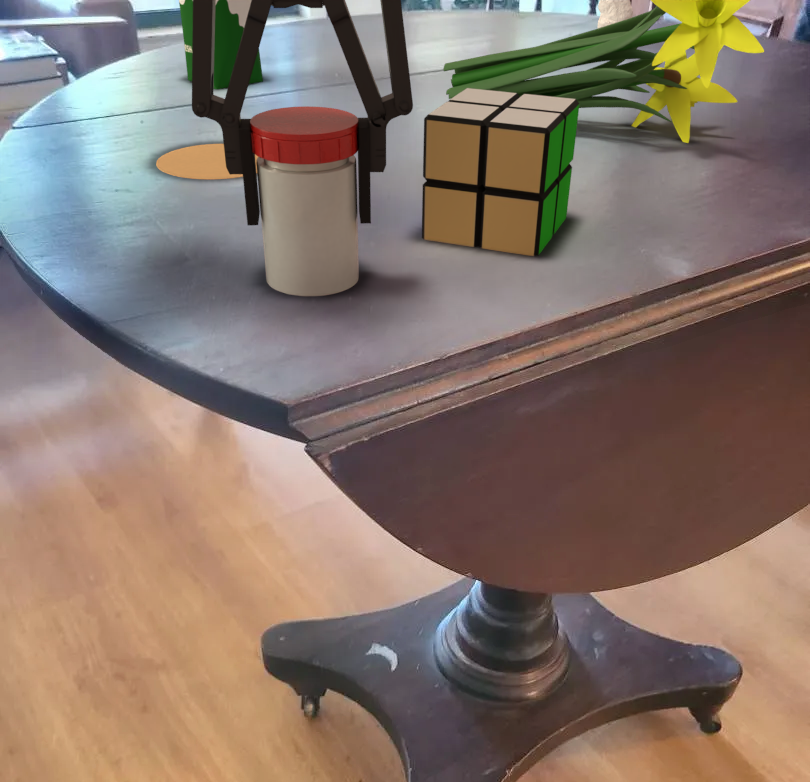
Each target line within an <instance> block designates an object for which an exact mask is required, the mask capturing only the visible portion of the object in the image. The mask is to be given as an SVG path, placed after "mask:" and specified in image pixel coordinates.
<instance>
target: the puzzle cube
mask: <svg viewBox="0 0 810 782" xmlns="http://www.w3.org/2000/svg"><path fill="white" fill-rule="evenodd" d="M579 113H580V108H579V102H578V101H577V100H576V99H570V98H561V97H551V96H541V95H531V94H523V95H522V96H521V97H519V95H518V94H517V93H511V92H501V91H491V90H482V89H472V88H466V89H465V90H463V91H462V92H460V93H459V94H458V95H456V96H455V97H453V98H452V99H448V101H446V102H444V103H443V104H441V105H440V106H439V107H436V108H435V109H434V110H432V111H431V112H430V113H428V114H427V115H426V116H425V117H424V119H423V152H422V153H423V154H422V155H423V158H422V159H423V161H422V177H423V178H424V180H425V182H424V183H422V197H421V198H422V200H421V203H422V204H421V238H422V239H423V240H424V241H431V242H436V243H443V244H450V245H456V246H464V247H470V248H478V247H479V248H481V249H482V250H483V249H484V250H490V251H497V252H503V253H509V254H517V255H523V256H530V257H537V256H540V254H541V253H542V252H543V250H544V249H545V248H546V246H547V245H548V244H549V242H550V241H551V240H552V238H553V236H554V235H555V234H556V233H557V231H558V230H559V228H560V227H561V226H562V225H563V223H564V222H565V220H566V219H567V216H568V207H569V198H570V197H569V196H570V190H571V181H572V179H571V178H572V172H573V171H572V170H573V166H572V165H571V162H572V161H573V160H574V154H575V145H576V139H577V128H578V119H579Z"/></svg>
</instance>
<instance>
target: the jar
mask: <svg viewBox="0 0 810 782" xmlns="http://www.w3.org/2000/svg"><path fill="white" fill-rule="evenodd" d="M256 164H257V185H258V197H259V209H260V220H261V221H260V222H261V233H262V247H263V256H264V269H265V280H266V283H267V284H268V286H269V287H271V288H272V289H273V290H275V291H277V292H280V293H284V294H286V295H290V296H291V295H292V296H299V297H323V296H330V295H334V294H338V293H342V292H344V291H346V290H350V289H351V288H352V287H353V286H355V285H356V284H357V283H358V281H359V279H360V268H359V267H360V266H359V263H360V262H359V261H360V260H359V221H358V214H359V213H358V177H357V176H358V166H357V157H356V155H355V154H354V155H353V156H351V157H348V158H346V159H343V160H339V161H335V162H330V163H321V164H285V163H278V162H273V161H268V160H265V159H263V158H260V157H258V158H257V160H256Z"/></svg>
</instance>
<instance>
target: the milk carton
mask: <svg viewBox="0 0 810 782" xmlns="http://www.w3.org/2000/svg"><path fill="white" fill-rule="evenodd" d="M178 4H179V11H180V20H181V28H182V35H183V44H184V53H185V56H184V57H185V64H186V75H187V76H186V77H187V81H189V82H192V37H193V0H178ZM250 4H251V0H216V2H215V45H214V88H213V90H222V89H228V85H229V82H230V78H231V74H232V71H233V67H234V63H235V60H236V56H237V52H238V49H239V45H240V41H241V38H242V34H243V30H244V26H245V23H246V19H247V15H248V12H249V8H250ZM263 77H264V76H263V69H262V62H261V53H260V48H259V49H258V53H257V57H256V60H255V64H254V67H253V71H252V74H251V78H250V81H249V85H251V84H256V83H262V82H264V78H263Z"/></svg>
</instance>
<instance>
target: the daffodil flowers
mask: <svg viewBox="0 0 810 782" xmlns="http://www.w3.org/2000/svg"><path fill="white" fill-rule="evenodd" d="M650 1H651V2H652V3H653V4H654V5H655V7H654V8H653V9H651V10H649V11H646V12H643V13H641V14H638V15H635V16H633V17H632V18H629V19H626V20H623V21H620V22H617V23H613V24H610V25H607V26H604V27H601V28H598V27H597V28H596V29H595V28H594V29H591V30H588V31H585V32H581V33H578V34H575V35H571V36H567V37H564V38H561V39H557V40H554V41H551V42H547V43H544V44H541V45H535V46H532V47H527V48H526V47H525V48H520V49H515V50H507V51H502V52H496V53H490V54H485V55H481V56H475V57H470V58H465V59H460V60H456V61H450V62H445V64H444V66H443V68H442V69H443V72H448V71H453V70H454V73H453V74H452V76H451V79H450V83H451V86H452V87H449V88H448V89H446V92H445V95H446V96H447V95H448V100H450V99H452V98H453V97H455V96H456V95H458V94H459V93H460V92H462V91H463V90H465V89H466V88H472V89H482V90H491V91H501V92H511V93H517V94H518V95H519V97H521V96H522V95H523V94H531V95H541V96H551V97H561V98H570V99H576V100H577V101H578V102H579V109H589V108H592V109H593V108H624V109H625V108H627V109H635V110H639V113H638V114H637V116H636V117H635V119H634V120H633V122H632V124H630V125H631V127H633V128H637V127H638V126H639V125H640V124H643V123H644V122H646V121H647V120H648V119H650V118H651V117H653V116H656V117H659V118H661V119H663V120H665V121H667V122H668V123H669V122H670V123H672V124H673V127H674V128H675V131H676V133H677V135H678V136H679V138H680V140H681V142H682V143H687V144H689V143H690V137H691V121H692V120H691V119H692V109H691V108H695V104H697V103H698V102H699V103H712V104H735V103H738V99H737V98H736V97H735V96H734V95H733V94H732V93H731V92H730V91H729V90H728V89H726V88H725V87H723V86H721V85H720V84H718V83H715V82H712V78H713V75H714V72H715V69H716V65H717V62H718V58H719V57H718V56H719V54H720V51H721V50H722V49H723V48H724V46H726V47H728V48H730V49H732V50H734V51H737V52H742V53H745V54H761V53H762V54H763V53H765V49H764V47H763V46H762V44H761V43H760V41H759V40H758V39H757V37H756V36H755V35H754V34H753V33H752V32H751V31H750V29H749V28H748V27H747V26H746V25H745V24H744V23H743V22H742V21H741V20H740V19H739V18H738V17H737V16H736V15H734V14H736V13H737V12H738V11H739V10H740V9H742V7H744V6H745V5H747V4H748V3H749V2H750V1H751V0H650ZM665 14H668V15H669V16H671V17H672V18H674V19H675V20H677V21H679V22H680V23H676V24H672V25H667V26H663V27H657V28H652V27H653V26H654V24H656V23H657V22H658V20H660V18H661V17H662V16H664V15H665ZM651 28H652V29H651ZM661 43H663V44H662V45H661V47H660V49H659V50H658V52H651V51H647V50H643V49H638V48H642V47H646V46H650V45H654V44H661ZM689 49H691V50H693V51H694V53H693V54H692V55H690V56H689V57H688V56H687V51H688V50H689ZM626 60H632V61H629V62H626V63H623V62H624V61H626ZM601 62H602V63H601ZM603 62H604V63H603ZM595 63H601V64H598V65H596V66H593V67H591V68H588V69H585V70H579V71H573V72H567V73H560V74H554V75H549V76H544V75H548V74H550V73H554V72H556V71H561V70H565V69H568V68H574V67H579V66H584V65H590V64H595ZM621 63H623V64H621ZM663 63H664V66H663V67H661V66H660V65H661V64H663ZM540 76H543V77H540ZM698 76H699V77H698ZM640 85H646V86H648V87H649V88H651V89H653V90H655V91H654V93H653V94H652V95H651V96H650V98H648V100H647V101H646V103H645V104H644V103H642V102H638V101H634V100H630V99H626V98H622V97H619V96H611V95H605V96H604V95H603V94H606V93H609V92H612V91H616V90H626V91H632V92H639V93H645V94H649V93H651V91H649V90H647V89H645V88H643V87H641V86H640ZM665 107H666V108H667V112H668V113H669V117H670V119H669V118H668V117H666V116H665V115H663V114H662V113H661V112H660V111H662V110H663V109H664V108H665Z"/></svg>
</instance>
